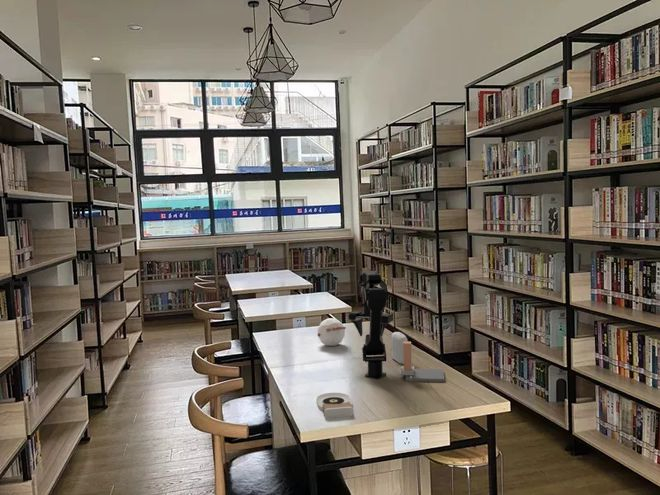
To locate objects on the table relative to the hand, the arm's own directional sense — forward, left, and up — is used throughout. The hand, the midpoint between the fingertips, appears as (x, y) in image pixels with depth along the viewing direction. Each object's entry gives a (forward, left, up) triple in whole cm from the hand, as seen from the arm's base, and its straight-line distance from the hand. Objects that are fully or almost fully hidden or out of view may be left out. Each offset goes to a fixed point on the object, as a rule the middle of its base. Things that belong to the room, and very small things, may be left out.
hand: (370, 337), depth 225 cm
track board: (-5, -26, -12) cm, 29 cm away
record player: (-47, -10, -13) cm, 50 cm away
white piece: (+21, +34, -12) cm, 42 cm away
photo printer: (+11, -8, -12) cm, 18 cm away
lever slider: (-7, -20, -10) cm, 23 cm away
